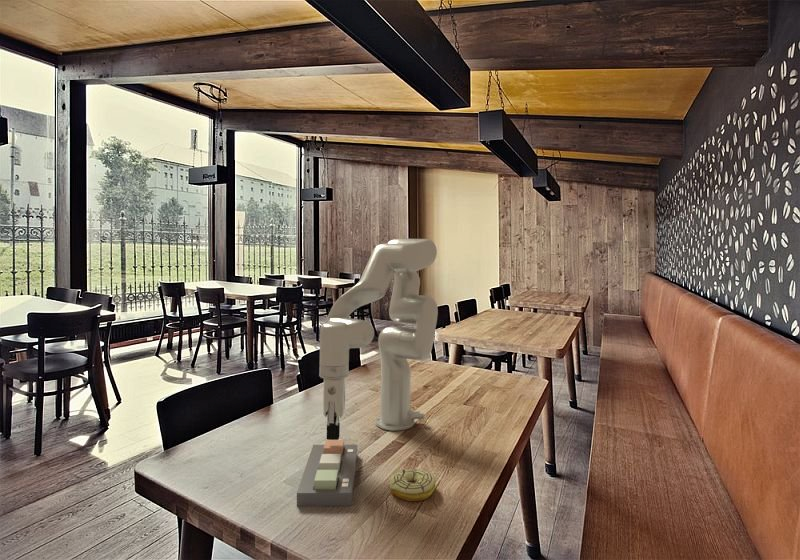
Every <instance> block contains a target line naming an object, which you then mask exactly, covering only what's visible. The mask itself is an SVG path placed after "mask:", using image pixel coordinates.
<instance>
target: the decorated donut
mask: <svg viewBox="0 0 800 560" xmlns="http://www.w3.org/2000/svg"><path fill="white" fill-rule="evenodd" d="M389 490H390V491H391V494H392V495H394V496H395V497H397V498H398V499H401V500H403V501H408V502H420V501H424V500H427V499H429V498H430V497H431V496H432V495H433V493H434V492H435V490H436V478H435V476H434V475H433V474H432V473H430V472H428V471H426V470H423V469H417V468H411V469H410V468H409V469H407V468H406V469H402V470H400V471H397V472H396V473H394V474H393V475H391V477H390V478H389Z"/></svg>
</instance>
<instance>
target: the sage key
mask: <svg viewBox="0 0 800 560" xmlns="http://www.w3.org/2000/svg"><path fill="white" fill-rule="evenodd" d="M337 484H338V470H317V473H316V476H315V480H314V490H336V489H337Z"/></svg>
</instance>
